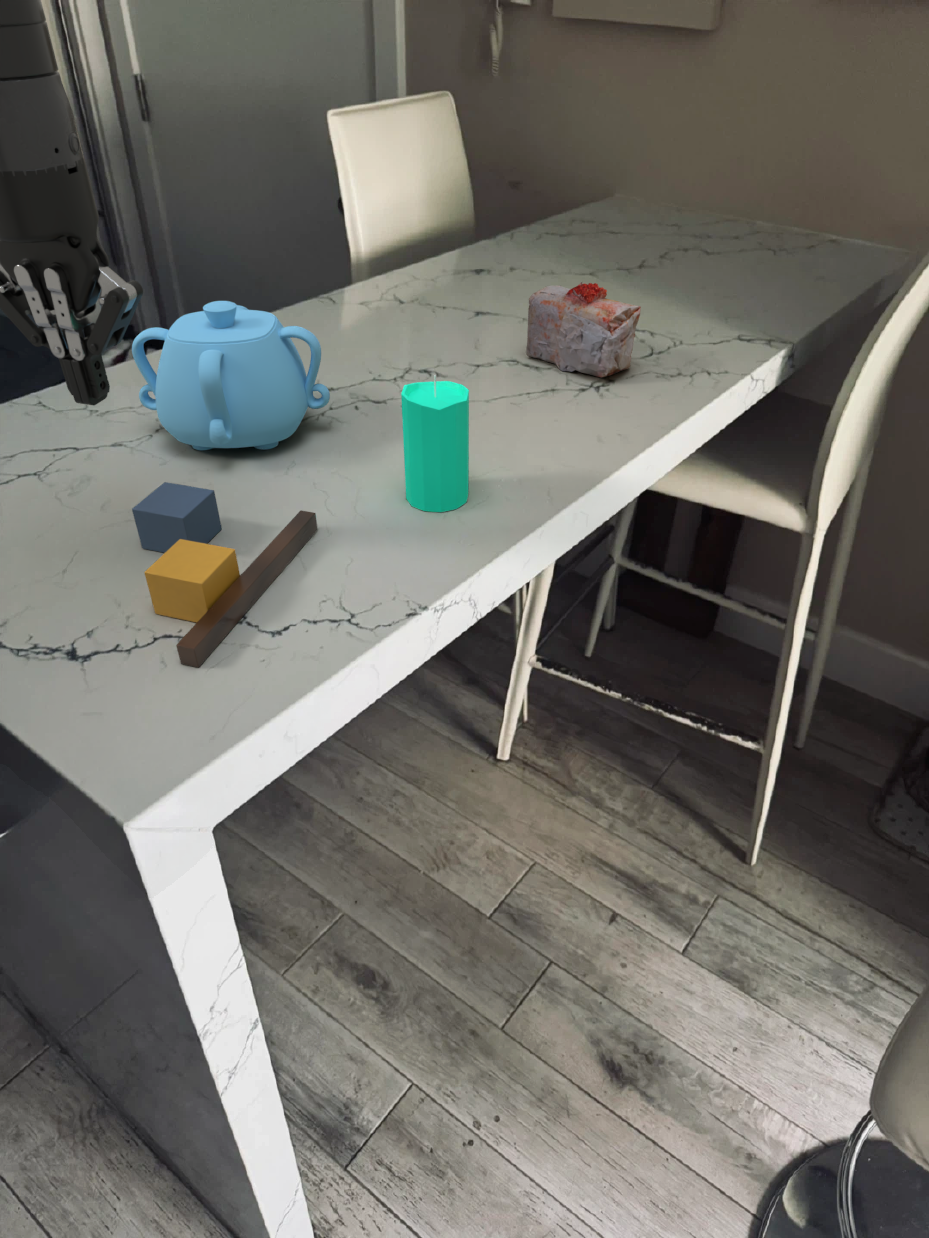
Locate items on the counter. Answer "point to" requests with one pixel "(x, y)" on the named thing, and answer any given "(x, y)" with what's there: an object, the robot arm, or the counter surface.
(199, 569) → the ochre block
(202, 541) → the slate block
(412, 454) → the candle
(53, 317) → the robot arm
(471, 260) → the counter surface
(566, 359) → the food item
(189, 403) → the decorative pot
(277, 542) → the straightedge
